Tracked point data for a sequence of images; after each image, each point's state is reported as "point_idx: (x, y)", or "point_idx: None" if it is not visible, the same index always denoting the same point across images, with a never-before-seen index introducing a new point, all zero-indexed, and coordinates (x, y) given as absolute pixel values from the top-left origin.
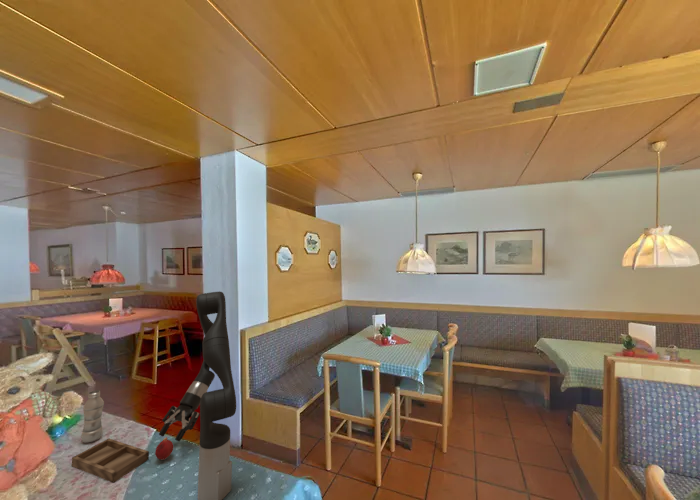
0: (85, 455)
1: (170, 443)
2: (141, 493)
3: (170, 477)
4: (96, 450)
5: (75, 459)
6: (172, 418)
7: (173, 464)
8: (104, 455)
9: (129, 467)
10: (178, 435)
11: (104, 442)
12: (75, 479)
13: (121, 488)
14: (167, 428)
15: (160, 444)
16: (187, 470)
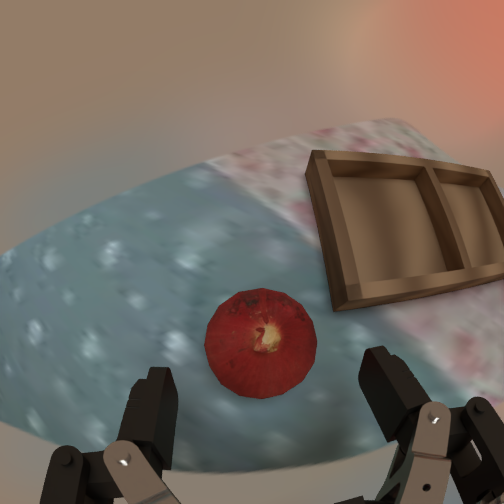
0: (492, 202)
1: (222, 361)
2: (151, 184)
3: (110, 275)
4: (502, 231)
5: (480, 170)
6: (404, 478)
7: (169, 343)
8: (473, 233)
9: (322, 212)
10: (144, 389)
11: None
12: (415, 155)
13: (246, 169)
14: (383, 419)
15: (266, 302)
16: (76, 333)
